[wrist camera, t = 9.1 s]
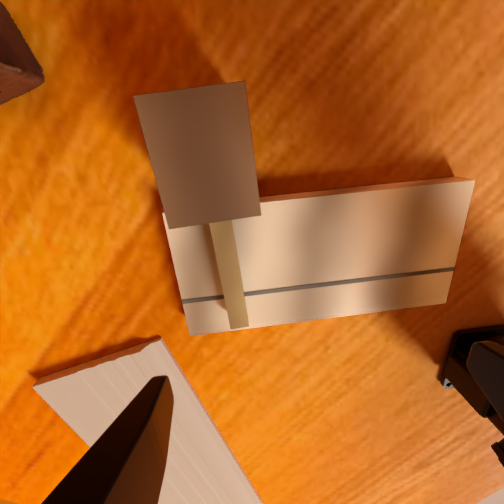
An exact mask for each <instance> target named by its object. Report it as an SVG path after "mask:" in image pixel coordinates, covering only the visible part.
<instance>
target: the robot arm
mask: <svg viewBox="0 0 504 504" xmlns="http://www.w3.org/2000/svg"><path fill="white" fill-rule="evenodd" d="M441 384H442V386H443V387H444V388H454V387H455V388H456V390H457V391H458V392H459V393H460V394H461V395H462V396H463V397H464V398H465V399H466V400H467V402H468V403H469V404H470V405H471V406H472V407H473V408H474V409H475V410H476V411H477V412H478V414H479V415H481V416H482V417H483V418H488V419H489V420H490V421H491V422H492V423H493V424H494V425H495V426H496V428H497V429H498V430H499V431H500V432H501V433H502V434H503V435H504V325H499V326H492V327H484V328H477V329H469V330H462V331H457V332H456V333H455V334H454V335H453V338H452V341H451V345H450V349H449V352H448V356H447V360H446V364H445V367H444V371H443V375H442V378H441ZM173 406H174V395H173V391H172V387H171V384H170V380H169V377H168V376H167V375H161V376H154V377H152V378H151V379H150V380H149V381H148V383H147V384H146V385H145V386H144V387H143V388H142V389H141V391H140V392H139V393H138V394H137V395H136V396H135V397H134V398H133V400H132V401H131V402H130V403H129V404H128V405H127V406H126V408H125V409H124V410H123V411H122V412H121V413H120V414H119V416H118V417H117V418H116V419H115V420H114V421H113V422H112V424H111V425H110V426H109V427H108V428H107V429H106V430H105V432H104V433H103V434H102V435H101V436H100V437H99V438H98V440H97V441H96V442H95V443H94V444H93V445H92V446H91V448H90V449H89V450H88V451H87V452H86V453H85V454H84V456H83V457H82V458H81V459H80V460H79V461H78V462H77V463H76V465H75V466H74V467H73V468H72V469H71V470H70V471H69V473H68V474H67V475H66V476H65V477H64V478H63V479H62V481H61V482H60V483H59V484H58V485H57V486H56V487H55V489H54V490H53V491H52V492H51V493H50V494H49V495H48V497H47V498H46V499H45V500H44V501H43V502H42V503H41V504H158V501H159V496H160V492H161V487H162V483H163V478H164V473H165V468H166V463H167V455H168V447H169V439H170V431H171V423H172V414H173ZM491 447H492V449H493V450H494V452H495V453H496V455H497V456H498V457H499V458H498V459H499V461H500V462H501V464H502V465H503V467H504V438H503V439H502V440H501V441H499V442H495V443H494V444H493V445H491Z"/></svg>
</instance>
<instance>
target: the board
mask: <svg viewBox="0 0 504 504" xmlns="http://www.w3.org/2000/svg"><path fill="white" fill-rule="evenodd" d="M474 184H475V180H473V179H467V178H461V177H446V178H436V179H427V180H417V181H408V182H398V183H389V184H379V185H370V186H360V187H350V188H341V189H331V190H322V191H312V192H303V193H293V194H284V195H274V196H265V197H259V200H260V208H261V216H254V217H248V218H241V219H235V220H232V225H233V231H234V237H235V243H236V249H237V255H238V260H239V266H240V272H241V278H242V284H243V290H244V296H245V302H246V308H247V314H248V322H249V327H242V328H236V329H230V324H229V319H228V314H227V309H226V304H225V299H224V294H223V289H222V284H221V279H220V275H219V270H218V265H217V260H216V255H215V250H214V245H213V240H212V235H211V230H210V225H209V223H208V224H202V225H195V226H188V227H182V228H175V229H169V228H168V224H167V220H166V217H165V213H164V212H163V213H162V215H163V220H164V224H165V228H166V233H167V237H168V242H169V246H170V250H171V255H172V259H173V264H174V268H175V273H176V277H177V281H178V286H179V290H180V295H181V299H182V304H183V308H184V312H185V317H186V321H187V326H188V330H189V334H190V336H194V335H202V334H210V333H217V332H225V331H233V330H241V329H249V328H257V327H264V326H272V325H280V324H288V323H296V322H303V321H311V320H319V319H327V318H335V317H343V316H350V315H358V314H366V313H374V312H382V311H390V310H397V309H405V308H413V307H421V306H429V305H436V304H444V303H446V300H447V296H448V292H449V288H450V284H451V280H452V275H453V271H454V269H455V263H456V259H457V255H458V251H459V246H460V242H461V238H462V234H463V230H464V226H465V222H466V217H467V213H468V209H469V205H470V201H471V197H472V193H473V189H474Z"/></svg>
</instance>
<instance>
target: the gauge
mask: <svg viewBox="0 0 504 504" xmlns="http://www.w3.org/2000/svg"><path fill="white" fill-rule="evenodd" d="M133 98H134V101H135V105H136V109H137V113H138V116H139V120H140V124H141V127H142V131H143V135H144V139H145V142H146V146H147V150H148V153H149V157H150V161H151V165H152V168H153V172H154V176H155V179H156V183H157V187H158V191H159V194H160V198H161V202H162V205H163V209H164V213H165V217H166V220H167V224H168V228H169V229H175V228H182V227H188V226H195V225H202V224H208V223H209V225H210V230H211V235H212V240H213V245H214V250H215V255H216V260H217V265H218V270H219V275H220V279H221V284H222V289H223V294H224V299H225V304H226V309H227V314H228V319H229V324H230V329H236V328H242V327H249V322H248V314H247V308H246V302H245V296H244V290H243V284H242V278H241V272H240V266H239V260H238V255H237V249H236V243H235V237H234V231H233V225H232V220H235V219H241V218H248V217H254V216H261V208H260V200H259V192H258V183H257V175H256V167H255V158H254V150H253V142H252V133H251V125H250V117H249V108H248V100H247V92H246V83H245V81H239V82H231V83H224V84H217V85H209V86H202V87H195V88H187V89H180V90H173V91H165V92H158V93H151V94H143V95H136V96H133Z"/></svg>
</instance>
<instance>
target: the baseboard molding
mask: <svg viewBox="0 0 504 504" xmlns="http://www.w3.org/2000/svg"><path fill="white" fill-rule="evenodd" d="M161 375H167V376H168V377H169V380H170V384H171V387H172V391H173V395H174V406H173V414H172V423H171V431H170V439H169V447H168V455H167V463H166V468H165V473H164V478H163V483H162V487H161V492H160V496H159V501H158V504H264V503H263V501H262V500H261V498H260V497H259V495H258V493H257V492H256V490H255V488H254V487H253V485H252V484H251V482H250V480H249V479H248V477H247V475H246V474H245V472H244V470H243V469H242V467H241V466H240V464H239V462H238V461H237V459H236V457H235V456H234V454H233V453H232V451H231V449H230V448H229V446H228V444H227V443H226V441H225V440H224V438H223V436H222V435H221V433H220V431H219V430H218V428H217V427H216V425H215V423H214V422H213V420H212V418H211V417H210V415H209V414H208V412H207V410H206V409H205V407H204V405H203V404H202V402H201V401H200V399H199V397H198V396H197V394H196V392H195V391H194V389H193V387H192V386H191V384H190V383H189V381H188V379H187V378H186V376H185V374H184V373H183V371H182V370H181V368H180V366H179V365H178V363H177V361H176V360H175V358H174V357H173V355H172V353H171V352H170V350H169V348H168V347H167V345H166V344H165V342H164V340H163V339H162V337H160V338H157V339H154V340H151V341H148V342H145V343H142V344H139V345H136V346H133V347H130V348H127V349H124V350H121V351H118V352H115V353H112V354H109V355H106V356H103V357H100V358H97V359H94V360H91V361H88V362H85V363H82V364H79V365H76V366H73V367H70V368H67V369H64V370H61V371H58V372H55V373H52V374H49V375H46V376H43V377H41V378H40V379H39V380H38V381H37V382H36V383H35V384H34V385H33V387H32V388H33V389H34V390H35V391H36V392H37V393H38V394H39V395H40V396H41V397H42V398H43V399H44V400H45V401H46V402H47V403H48V404H49V405H50V406H51V407H52V408H53V409H54V410H55V411H56V412H57V413H58V414H59V416H60V417H61V418H62V419H63V420H64V421H65V422H66V423H67V424H68V425H69V426H70V427H71V428H72V429H73V430H74V431H75V432H76V433H77V434H78V435H79V436H80V437H81V438H82V439H83V440H84V441H85V442H86V443H87V444H88V445H89V446H90V447H91V446H92V445H93V444H94V443H95V442H96V441H97V440H98V438H99V437H100V436H101V435H102V434H103V433H104V432H105V430H106V429H107V428H108V427H109V426H110V425H111V424H112V422H113V421H114V420H115V419H116V418H117V417H118V416H119V414H120V413H121V412H122V411H123V410H124V409H125V408H126V406H127V405H128V404H129V403H130V402H131V401H132V400H133V398H134V397H135V396H136V395H137V394H138V393H139V392H140V391H141V389H142V388H143V387H144V386H145V385H146V384H147V383H148V381H149V380H150V379H151V378H152V377H154V376H161Z"/></svg>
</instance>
